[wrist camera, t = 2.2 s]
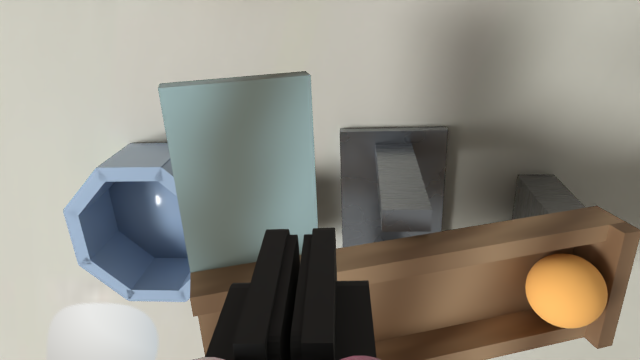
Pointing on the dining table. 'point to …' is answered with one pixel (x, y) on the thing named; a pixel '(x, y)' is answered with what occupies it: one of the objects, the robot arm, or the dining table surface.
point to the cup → (132, 226)
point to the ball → (566, 290)
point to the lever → (373, 258)
